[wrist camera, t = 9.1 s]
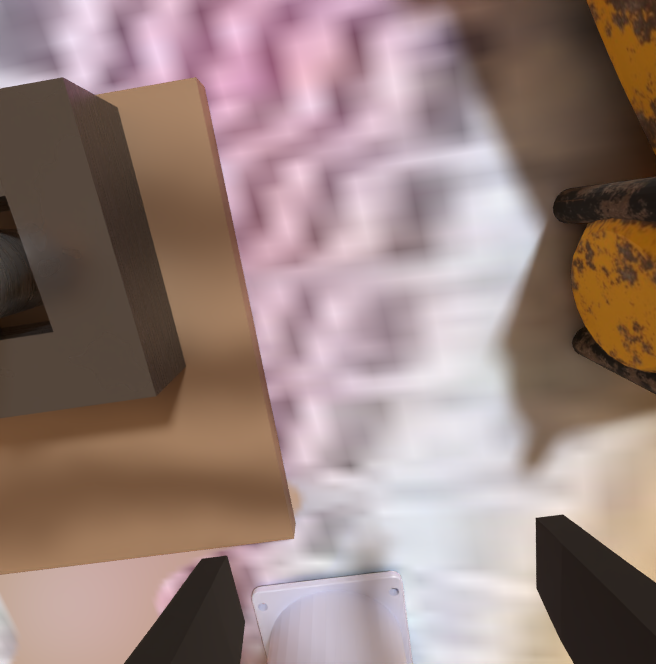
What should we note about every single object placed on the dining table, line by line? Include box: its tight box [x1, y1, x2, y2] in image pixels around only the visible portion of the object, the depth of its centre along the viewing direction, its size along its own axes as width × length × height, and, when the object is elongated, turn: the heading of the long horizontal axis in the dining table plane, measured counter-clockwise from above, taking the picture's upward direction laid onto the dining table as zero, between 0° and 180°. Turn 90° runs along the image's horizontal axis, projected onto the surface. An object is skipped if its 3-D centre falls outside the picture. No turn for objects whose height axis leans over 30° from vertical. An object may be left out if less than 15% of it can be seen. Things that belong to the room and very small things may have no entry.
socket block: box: [0, 78, 186, 418], centre depth 14 cm, size 10×10×3 cm
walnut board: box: [0, 77, 296, 575], centre depth 17 cm, size 20×16×1 cm
